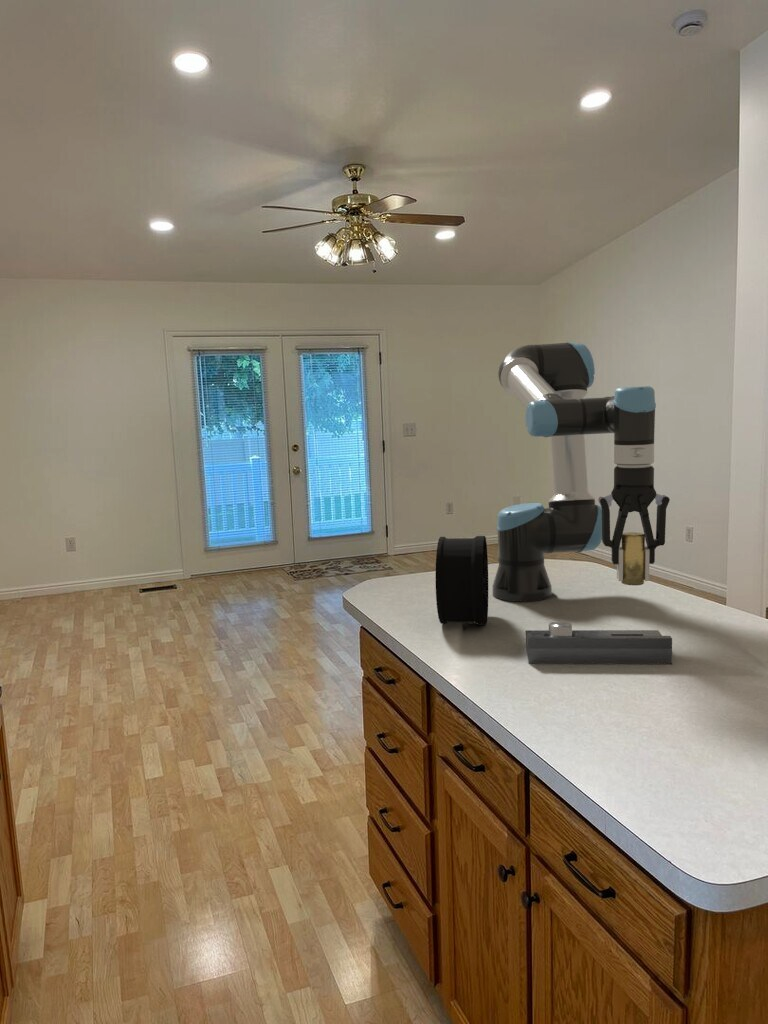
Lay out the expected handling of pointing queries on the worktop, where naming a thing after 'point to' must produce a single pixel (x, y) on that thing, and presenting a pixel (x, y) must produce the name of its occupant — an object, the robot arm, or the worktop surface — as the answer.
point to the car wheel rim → (462, 580)
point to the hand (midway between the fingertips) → (632, 579)
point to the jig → (599, 647)
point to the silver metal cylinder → (560, 628)
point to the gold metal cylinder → (633, 558)
